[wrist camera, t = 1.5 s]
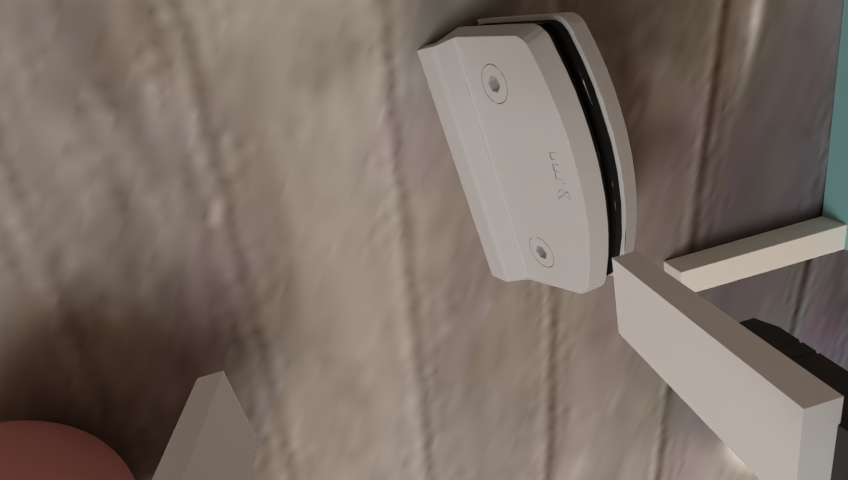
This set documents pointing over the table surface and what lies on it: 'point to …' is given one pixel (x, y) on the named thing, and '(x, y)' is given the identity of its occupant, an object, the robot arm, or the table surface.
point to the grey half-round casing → (537, 146)
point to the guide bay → (835, 230)
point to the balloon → (56, 453)
